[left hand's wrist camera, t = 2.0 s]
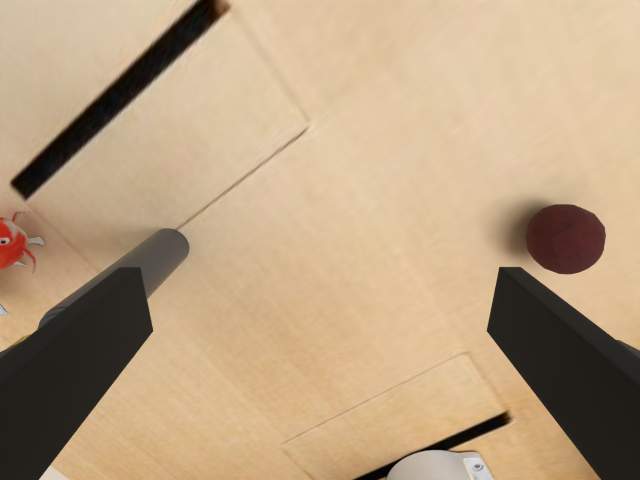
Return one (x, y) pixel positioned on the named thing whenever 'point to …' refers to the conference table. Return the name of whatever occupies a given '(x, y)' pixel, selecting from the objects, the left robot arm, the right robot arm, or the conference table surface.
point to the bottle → (151, 256)
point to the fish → (14, 246)
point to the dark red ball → (565, 238)
